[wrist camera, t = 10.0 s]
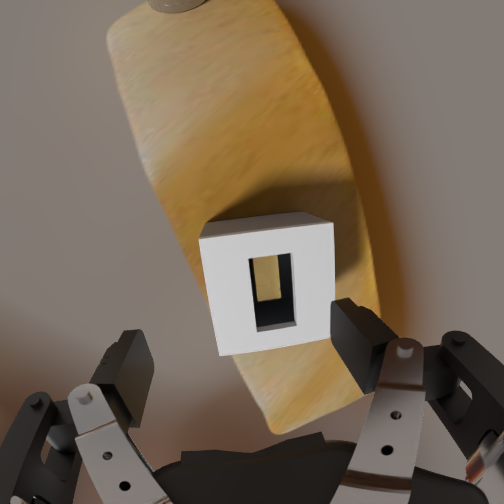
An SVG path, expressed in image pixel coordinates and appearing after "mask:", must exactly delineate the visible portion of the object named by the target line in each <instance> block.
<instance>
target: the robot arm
mask: <svg viewBox="0 0 504 504" xmlns="http://www.w3.org/2000/svg"><path fill="white" fill-rule="evenodd" d="M148 1H149V4H150V5H151V7H152V8H154V9H155V10H157V11H160V12H164V13H178V12H183V11H187V10H190V9H193V8H195V7H197V6H199V5H200V4H202V3H203V2H204V1H205V0H148ZM330 337H331V341H332V344H333V346H334V348H335V349H336V351H337V352H338V354H339V355H340V357H341V359H342V360H343V362H344V363H345V365H346V366H347V368H348V370H349V371H350V373H351V374H352V376H353V377H354V379H355V381H356V382H357V384H358V385H359V387H360V389H361V390H362V392H363V393H364V395H365V394H368V393H371V392H374V396H373V399H372V402H371V406H370V409H369V412H368V415H367V418H366V421H365V424H364V427H363V430H362V433H361V436H360V438H359V441H358V444H357V443H353V442H349V441H342V440H324V437H323V435H322V432H318V433H314V434H310V435H306V436H302V437H297V438H293V439H288V440H285V441H283V442H280V443H278V444H276V445H273V446H271V447H268V448H265V449H262V450H260V451H257V452H254V453H242V452H231V451H221V450H203V451H182V452H181V461H177V462H174V463H170V464H168V465H166V466H163V467H161V468H160V469H158V470H156V471H154V470H153V469H152V468H151V466H150V465H149V464H148V462H147V461H146V460H145V458H144V457H143V455H142V454H141V452H140V451H139V450H138V448H137V446H136V445H135V443H134V442H133V440H132V439H131V437H130V436H129V434H128V429H129V427H135V428H139V427H140V423H141V419H142V416H143V412H144V408H145V404H146V400H147V396H148V392H149V388H150V384H151V381H152V377H153V374H154V362H153V358H152V356H151V353H150V350H149V347H148V345H147V342H146V339H145V336H144V334H143V332H142V330H140V329H137V330H126V331H123V333H122V335H121V337H120V338H119V340H118V342H115V343H114V344H112V345H111V346H110V347H109V348H108V349H107V351H106V352H105V354H104V356H103V358H102V359H101V361H100V365H98V367H97V369H96V371H95V373H94V374H93V377H92V378H91V380H90V382H89V384H83V385H81V386H78V387H76V388H75V389H74V390H72V392H71V393H70V394H69V396H68V400H62V401H56V402H53V401H52V399H51V397H50V396H49V395H48V394H47V393H46V392H36V393H34V394H32V395H30V396H29V397H28V398H27V399H26V400H25V402H24V403H23V405H22V407H21V409H20V411H19V412H18V414H17V416H16V417H15V419H14V421H13V423H12V425H11V427H10V429H9V431H8V433H7V435H6V437H5V439H4V441H3V443H2V445H1V447H0V504H72V503H73V498H74V493H75V489H76V484H77V480H78V476H79V472H80V468H81V464H82V460H83V461H84V463H85V466H86V468H87V471H88V473H89V474H90V477H91V479H92V481H93V483H94V485H95V487H96V489H97V491H98V493H99V495H100V497H101V499H102V501H103V503H104V504H499V503H501V502H502V501H503V500H504V365H503V364H502V363H501V362H500V361H499V360H497V359H496V358H495V357H494V356H493V355H492V354H491V353H489V351H487V350H486V349H485V348H484V347H483V346H482V345H480V343H478V342H477V341H476V340H475V339H474V338H473V337H471V336H470V335H469V334H467V333H465V332H461V331H450V332H447V333H446V334H444V335H443V337H442V341H441V344H440V345H435V346H428V347H423V345H422V344H421V343H420V342H419V341H417V340H415V339H413V338H408V337H401V338H399V337H398V336H397V335H396V334H395V333H394V332H393V331H392V330H391V329H390V328H389V327H388V326H387V325H386V324H385V323H383V321H382V320H381V319H380V318H379V317H378V316H377V315H376V314H375V313H374V312H373V311H372V310H370V309H368V308H365V307H363V306H359V307H358V306H357V305H356V304H355V303H354V302H353V301H352V300H351V299H350V298H344V299H339V300H334V301H332V302H331V305H330ZM461 380H462V381H463V382H464V383H465V384H466V385H467V387H468V388H469V389H470V390H471V392H472V399H471V398H470V397H469V396H468V395H467V394H466V392H465V391H464V390H463V389H462V388H461V387H460V382H461ZM425 401H427V402H428V403H429V404H430V406H431V407H432V409H433V410H434V411H435V413H436V414H437V416H438V417H439V419H440V420H441V421H442V423H443V424H444V426H445V427H446V429H447V430H448V432H449V433H450V435H451V436H452V438H453V439H454V440H455V442H456V443H457V445H458V447H459V448H460V449H461V451H462V453H463V454H464V456H465V457H466V459H467V463H466V467H465V470H466V477H465V481H463V480H459V479H455V478H451V477H448V476H444V475H441V474H437V473H434V472H431V471H428V470H425V469H422V468H419V467H416V466H415V461H416V456H417V451H418V446H419V441H420V435H421V428H422V420H423V412H424V403H425ZM45 440H47V441H48V442H49V443H50V444H51V445H52V446H51V448H50V451H49V454H48V457H47V460H46V463H45V465H44V464H43V462H42V460H41V457H40V454H41V450H42V447H43V445H44V442H45Z"/></svg>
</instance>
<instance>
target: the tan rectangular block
mask: <svg viewBox="0 0 504 504" xmlns="http://www.w3.org/2000/svg"><path fill="white" fill-rule="evenodd" d="M249 262H250V271H251V279H252V284H253V287H254V291H255V294H256V297H257V301H264V300H271V299H277V298H281V292H280V279H279V267H278V256H277V255H271V256H264V257H256V258H249Z"/></svg>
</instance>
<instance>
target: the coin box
mask: <svg viewBox="0 0 504 504" xmlns="http://www.w3.org/2000/svg"><path fill="white" fill-rule="evenodd" d="M199 245H200V252H201V258H202V264H203V270H204V276H205V282H206V288H207V293H208V299H209V304H210V310H211V315H212V320H213V325H214V331H215V336H216V340H217V346H218V350H219V355H220V356H224V355H233V354H241V353H248V352H255V351H262V350H268V349H274V348H280V347H286V346H291V345H297V344H302V343H307V342H312V341H317V340H321V339H326V338H331V337H330V305H331V302H332V301H334V300H335V253H334V227H333V223H332V222H330V221H327V220H325V219H322V218H319V217H317V216H314V215H311V214H309V213H306V212H303V211H300V212H291V213H282V214H273V215H264V216H255V217H247V218H239V219H231V220H223V221H216V222H208V223H205V225H204V228H203V230H202V232H201V235H200V237H199ZM271 255H277V256H278V267H279V279H280V292H281V298H277V299H271V300H264V301H257V297H256V294H255V291H254V287H253V284H252V279H251V271H250V262H249V258H256V257H264V256H271Z"/></svg>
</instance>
